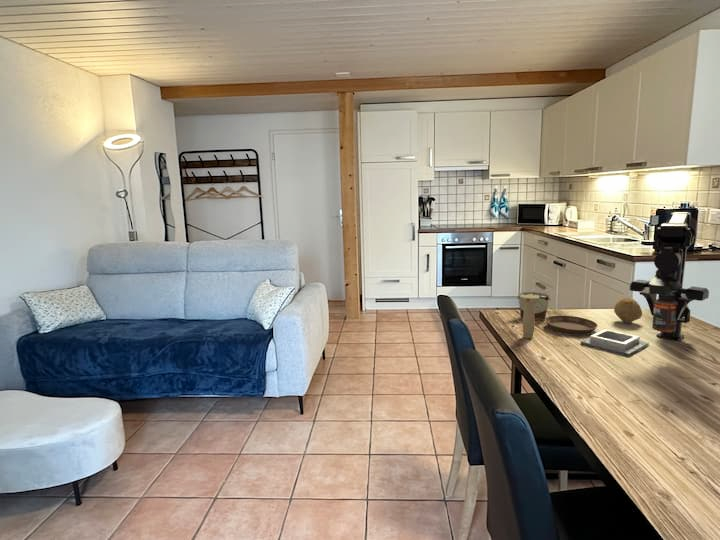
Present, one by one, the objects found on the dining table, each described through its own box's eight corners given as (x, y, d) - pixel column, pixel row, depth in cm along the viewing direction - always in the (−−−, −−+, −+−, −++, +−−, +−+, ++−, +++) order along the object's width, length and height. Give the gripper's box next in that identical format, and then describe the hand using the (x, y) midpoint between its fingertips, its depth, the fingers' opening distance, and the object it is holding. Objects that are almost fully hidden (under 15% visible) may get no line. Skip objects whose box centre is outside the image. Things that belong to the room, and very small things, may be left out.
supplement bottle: (677, 329, 132) (680, 293, 130) (674, 334, 128) (677, 297, 126) (653, 325, 136) (657, 290, 134) (650, 330, 132) (653, 294, 130)
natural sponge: (607, 319, 173) (609, 295, 171) (628, 318, 174) (630, 294, 172) (623, 326, 164) (625, 300, 162) (645, 325, 165) (647, 299, 163)
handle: (536, 340, 151) (537, 299, 149) (517, 337, 155) (518, 297, 152) (538, 336, 155) (540, 296, 153) (520, 334, 159) (521, 294, 156)
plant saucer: (598, 326, 166) (599, 318, 165) (594, 340, 151) (595, 331, 151) (549, 320, 175) (549, 313, 175) (540, 332, 160) (541, 324, 160)
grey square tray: (601, 334, 156) (601, 326, 155) (648, 345, 144) (649, 336, 143) (580, 344, 147) (581, 335, 146) (628, 356, 135) (629, 347, 134)
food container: (548, 315, 180) (549, 292, 179) (549, 320, 175) (550, 295, 173) (516, 313, 184) (517, 291, 183) (516, 318, 179) (517, 294, 177)
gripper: (623, 266, 131) (619, 316, 134) (698, 274, 117) (692, 330, 119) (639, 261, 138) (635, 309, 141) (712, 269, 123) (706, 321, 126)
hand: (664, 317), depth 131 cm, fingers closed on supplement bottle, 6 cm apart
